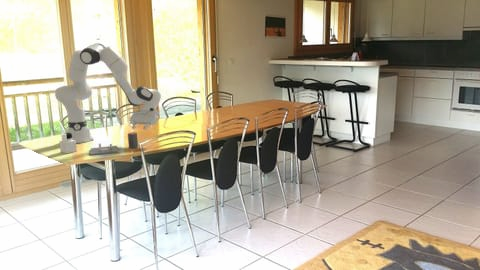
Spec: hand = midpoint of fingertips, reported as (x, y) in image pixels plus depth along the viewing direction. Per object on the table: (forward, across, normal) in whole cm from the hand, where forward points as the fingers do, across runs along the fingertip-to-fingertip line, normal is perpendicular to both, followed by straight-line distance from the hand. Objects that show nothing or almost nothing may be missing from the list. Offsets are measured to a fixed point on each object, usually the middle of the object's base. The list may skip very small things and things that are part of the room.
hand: (138, 128), depth 275 cm
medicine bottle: (+29, -32, -13) cm, 45 cm away
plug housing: (+12, 0, +3) cm, 13 cm away
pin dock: (+22, -11, -7) cm, 26 cm away
